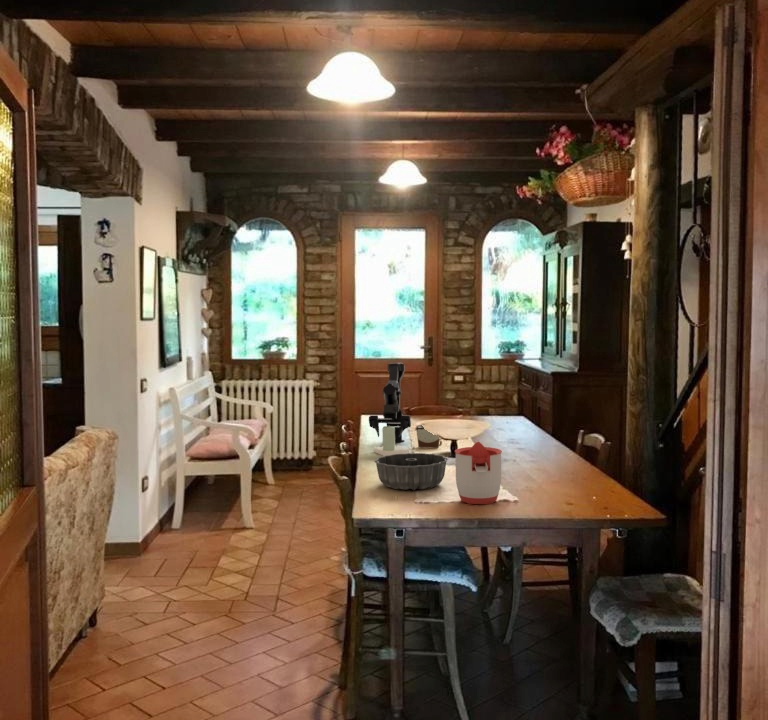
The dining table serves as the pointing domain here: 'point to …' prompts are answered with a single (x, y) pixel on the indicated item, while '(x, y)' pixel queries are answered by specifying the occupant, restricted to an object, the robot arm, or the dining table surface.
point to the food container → (426, 438)
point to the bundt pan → (411, 470)
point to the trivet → (397, 451)
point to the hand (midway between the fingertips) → (388, 436)
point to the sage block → (388, 438)
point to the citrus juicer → (478, 474)
